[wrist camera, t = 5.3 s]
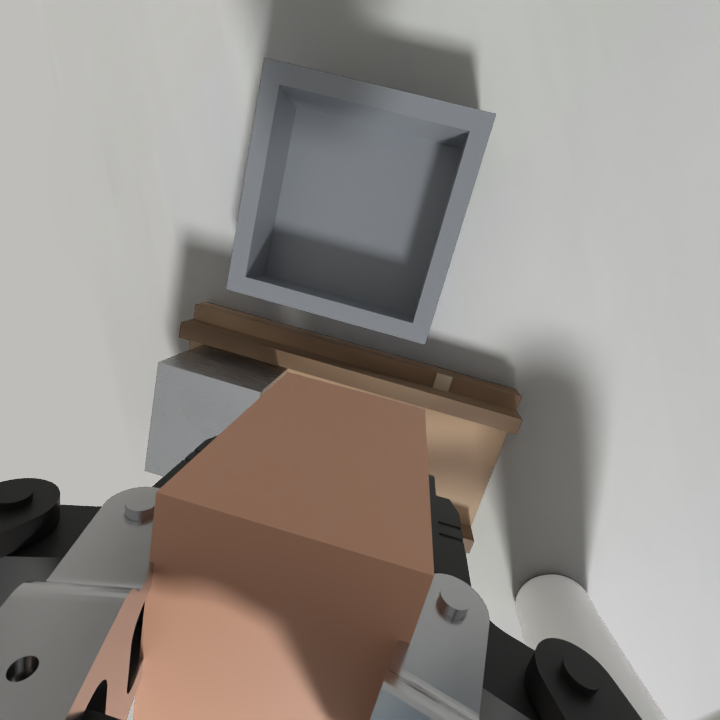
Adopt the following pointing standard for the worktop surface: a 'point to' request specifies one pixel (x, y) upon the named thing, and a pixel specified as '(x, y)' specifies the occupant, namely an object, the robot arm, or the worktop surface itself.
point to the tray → (354, 198)
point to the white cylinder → (579, 633)
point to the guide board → (385, 394)
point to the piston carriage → (201, 400)
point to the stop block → (289, 560)
